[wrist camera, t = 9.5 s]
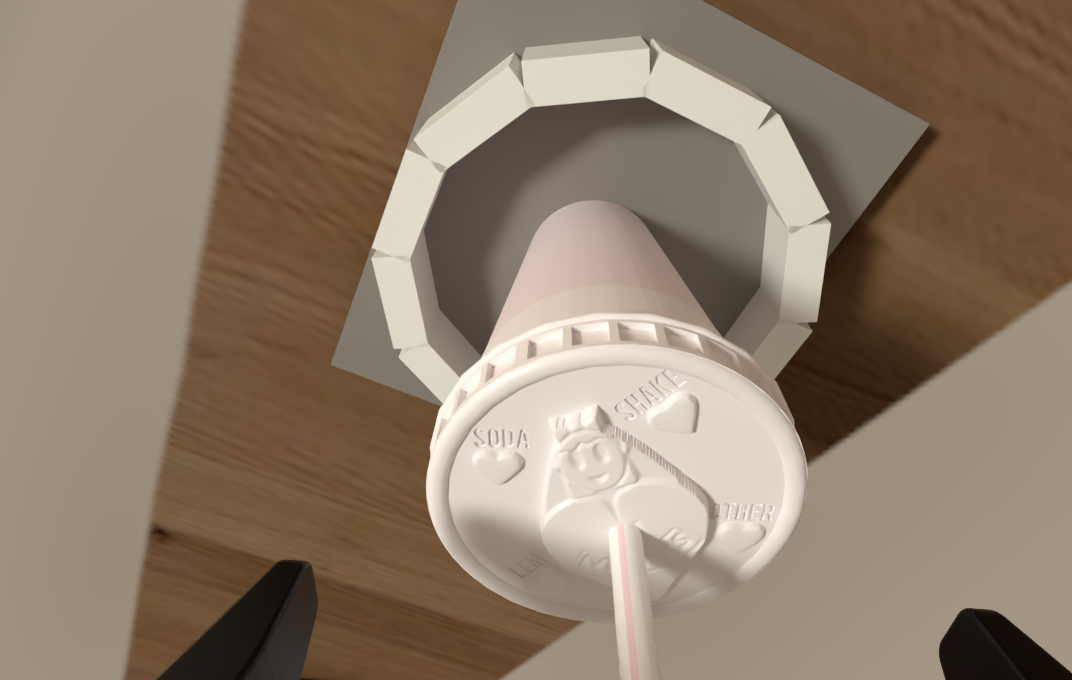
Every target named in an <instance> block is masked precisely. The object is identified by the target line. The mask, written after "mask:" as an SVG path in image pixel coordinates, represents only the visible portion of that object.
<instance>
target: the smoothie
mask: <svg viewBox="0 0 1072 680" xmlns="http://www.w3.org/2000/svg"><path fill="white" fill-rule="evenodd" d="M430 453H431V457H430V462H429V466H428V471H427V481H426V494H427V503H428V508H429V513H430V516H431V519H432V522H433V525H434V527H435V529H436V532H437V534H438V536H439V538H440V539H441V541H442V543H443V544H444V546H445V548H446V549H447V550H448V552H449V553H450V554H451V556H452V557H453V558H454V559H455V560H456V561H457V562H458V564H459V565H460V566H461V567H462V568H463V569H464V570H465V571H467V572H468V573H469V574H470V575H471V576H472V577H473V578H475V579H476V580H477V581H479V582H480V583H481V584H483V585H484V586H485V587H487V588H488V589H490V590H492V591H494V592H495V593H497V594H499V595H501V596H503V597H504V598H506V599H508V600H510V601H512V602H514V603H516V604H519V605H522V606H524V607H527V608H530V609H532V610H535V611H538V612H540V613H544V614H549V615H553V616H557V617H562V618H566V619H571V620H580V621H590V622H601V623H609V622H615V624H616V638H617V651H618V663H619V676H620V680H661V677H660V669H659V661H658V654H657V646H656V639H655V631H654V623H653V619H657V618H663V617H668V616H672V615H675V614H678V613H682V612H686V611H689V610H693V609H696V608H699V607H701V606H703V605H705V604H707V603H710V602H712V601H714V600H716V599H719V598H721V597H724V596H726V595H727V594H729V593H731V592H732V591H734V590H735V589H737V588H738V587H740V586H742V585H743V584H745V583H746V582H748V581H750V580H751V579H752V578H753V577H755V576H756V575H757V574H758V573H759V572H760V571H762V570H763V569H764V568H765V567H766V566H767V565H768V564H769V563H770V562H771V561H772V560H773V559H774V558H775V557H776V556H777V555H778V553H779V552H780V551H781V550H782V549H783V547H784V546H785V544H786V543H787V541H788V540H789V539H790V537H791V536H792V534H793V532H794V530H795V528H796V526H797V524H798V522H799V520H800V517H801V514H802V511H803V509H804V505H805V500H806V496H807V486H808V470H807V463H806V457H805V453H804V450H803V447H802V444H801V441H800V438H799V436H798V434H797V432H796V430H795V425H794V418H793V416H792V414H791V412H790V410H789V408H788V405H787V403H786V401H785V399H784V397H783V395H782V392H781V390H780V388H779V386H778V384H777V382H776V381H775V380H774V379H773V378H772V377H771V376H770V375H769V374H768V373H767V372H766V371H765V370H764V369H763V368H762V367H761V366H760V365H759V364H758V363H757V362H756V360H755V359H754V358H753V357H752V356H751V355H750V354H749V353H748V352H747V351H746V350H744V349H742V348H740V347H739V346H737V345H735V344H733V343H732V342H730V341H728V340H726V339H724V338H723V337H722V336H721V334H720V333H719V332H718V331H717V329H716V328H715V327H714V325H713V324H712V322H711V321H710V319H709V318H708V317H707V315H706V314H705V312H704V311H703V309H702V308H701V306H700V305H699V303H698V302H697V300H696V299H695V297H694V296H693V294H692V293H691V292H690V290H689V289H688V287H687V286H686V284H685V283H684V281H683V280H682V278H681V277H680V275H679V274H678V272H677V271H676V270H675V268H674V267H673V265H672V264H671V262H670V261H669V259H668V258H667V256H666V255H665V253H664V252H663V250H662V249H661V248H660V246H659V245H658V243H657V242H656V240H655V239H654V237H653V236H652V234H651V233H650V231H649V230H648V228H647V227H646V225H645V224H644V223H643V222H642V221H641V219H640V218H638V217H637V216H636V215H635V214H634V213H633V212H631V211H630V210H628V209H626V208H624V207H622V206H620V205H618V204H615V203H611V202H607V201H600V200H588V201H581V202H576V203H573V204H570V205H567V206H565V207H563V208H561V209H559V210H557V211H556V212H554V213H553V214H552V215H550V216H549V217H548V218H547V219H546V220H545V221H544V222H543V223H542V224H541V226H540V227H539V228H538V230H537V231H536V233H535V235H534V237H533V239H532V241H531V244H530V246H529V248H528V251H527V253H526V256H525V258H524V260H523V263H522V265H521V267H520V270H519V272H518V274H517V277H516V279H515V281H514V284H513V286H512V288H511V291H510V293H509V295H508V298H507V300H506V302H505V305H504V307H503V309H502V312H501V314H500V316H499V319H498V321H497V323H496V326H495V328H494V330H493V333H492V335H491V337H490V340H489V342H488V345H487V347H486V349H485V351H484V353H483V355H482V357H481V359H480V360H479V361H478V362H476V363H475V364H474V365H473V366H472V367H470V368H469V369H468V370H467V371H466V372H465V373H463V374H462V375H461V377H460V378H459V380H458V382H457V383H456V385H455V386H454V388H453V389H452V391H451V392H450V394H449V395H448V397H447V399H446V400H445V402H444V403H443V405H442V406H441V408H440V409H439V412H438V417H437V421H436V425H435V429H434V433H433V437H432V441H431V445H430Z"/></svg>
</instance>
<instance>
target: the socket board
mask: <svg viewBox="0 0 1072 680" xmlns="http://www.w3.org/2000/svg"><path fill="white" fill-rule="evenodd" d="M929 125H930V124H929V123H927V122H925V121H923V120H921V119H919V118H918V117H916V116H914V115H912V114H910V113H908V112H907V111H905V110H903V109H901V108H899V107H897V106H896V105H894V104H892V103H890V102H888V101H886V100H884V99H883V98H881V97H879V96H877V95H875V94H873V93H872V92H870V91H868V90H866V89H864V88H862V87H861V86H859V85H857V84H855V83H853V82H851V81H849V80H848V79H846V78H844V77H842V76H840V75H838V74H837V73H835V72H833V71H831V70H829V69H827V68H826V67H824V66H822V65H820V64H818V63H816V62H814V61H813V60H811V59H809V58H807V57H805V56H803V55H802V54H800V53H798V52H796V51H794V50H792V49H790V48H789V47H787V46H785V45H783V44H781V43H779V42H778V41H776V40H774V39H772V38H770V37H768V36H767V35H765V34H763V33H761V32H759V31H757V30H755V29H754V28H752V27H750V26H748V25H746V24H744V23H743V22H741V21H739V20H737V19H735V18H733V17H732V16H730V15H728V14H726V13H724V12H722V11H720V10H719V9H717V8H715V7H713V6H711V5H709V4H708V3H706V2H704V1H702V0H458V2H457V4H456V7H455V10H454V13H453V16H452V19H451V22H450V24H449V27H448V30H447V33H446V36H445V39H444V42H443V45H442V47H441V50H440V53H439V56H438V59H437V62H436V65H435V67H434V70H433V73H432V76H431V79H430V82H429V85H428V87H427V90H426V93H425V96H424V99H423V102H422V105H421V107H420V110H419V113H418V116H417V119H416V122H415V125H414V127H413V130H412V133H411V136H410V139H409V142H408V145H407V147H406V150H405V153H404V156H403V159H402V162H401V165H400V167H399V170H398V173H397V176H396V179H395V182H394V185H393V188H392V190H391V193H390V196H389V199H388V202H387V205H386V208H385V210H384V213H383V216H382V219H381V222H380V225H379V228H378V230H377V233H376V236H375V239H374V242H373V245H372V248H371V250H370V253H369V256H368V259H367V262H366V265H365V268H364V270H363V273H362V276H361V279H360V282H359V285H358V288H357V290H356V293H355V296H354V299H353V302H352V305H351V308H350V310H349V313H348V316H347V319H346V322H345V325H344V328H343V331H342V333H341V336H340V339H339V342H338V345H337V348H336V351H335V353H334V356H333V359H332V362H331V365H332V366H335V367H338V368H340V369H343V370H346V371H348V372H351V373H354V374H356V375H359V376H362V377H364V378H367V379H370V380H372V381H375V382H378V383H380V384H383V385H386V386H388V387H391V388H394V389H396V390H399V391H402V392H405V393H407V394H410V395H413V396H415V397H418V398H421V399H423V400H426V401H429V402H431V403H434V404H437V405H439V406H442V405H443V403H444V402H445V400H446V399H447V397H448V395H449V394H450V392H451V391H452V389H453V388H454V386H455V385H456V383H457V382H458V380H459V378H460V377H461V375H462V374H463V373H465V372H466V371H467V370H468V369H469V368H470V367H472V366H473V365H474V364H475V363H476V362H478V361H479V360H480V359H481V357H482V355H483V353H484V351H485V349H486V347H487V345H488V342H489V340H490V337H491V335H492V333H493V330H494V328H495V326H496V323H497V321H498V319H499V316H500V314H501V312H502V309H503V307H504V305H505V302H506V300H507V298H508V295H509V293H510V291H511V288H512V286H513V284H514V281H515V279H516V277H517V274H518V272H519V270H520V267H521V265H522V263H523V260H524V258H525V256H526V253H527V251H528V248H529V246H530V244H531V241H532V239H533V237H534V235H535V233H536V231H537V230H538V228H539V227H540V226H541V224H542V223H543V222H544V221H545V220H546V219H547V218H548V217H549V216H550V215H552V214H553V213H554V212H556V211H557V210H559V209H561V208H563V207H565V206H567V205H570V204H573V203H576V202H581V201H588V200H600V201H607V202H611V203H615V204H618V205H620V206H622V207H624V208H626V209H628V210H630V211H631V212H633V213H634V214H635V215H636V216H637V217H638V218H640V219H641V221H642V222H643V223H644V224H645V225H646V227H647V228H648V230H649V231H650V233H651V234H652V236H653V237H654V239H655V240H656V242H657V243H658V245H659V246H660V248H661V249H662V250H663V252H664V253H665V255H666V256H667V258H668V259H669V261H670V262H671V264H672V265H673V267H674V268H675V270H676V271H677V272H678V274H679V275H680V277H681V278H682V280H683V281H684V283H685V284H686V286H687V287H688V289H689V290H690V292H691V293H692V294H693V296H694V297H695V299H696V300H697V302H698V303H699V305H700V306H701V308H702V309H703V311H704V312H705V314H706V315H707V317H708V318H709V319H710V321H711V322H712V324H713V325H714V327H715V328H716V329H717V331H718V332H719V333H720V334H721V336H722V337H723V338H724V339H726V340H728V341H730V342H732V343H733V344H735V345H737V346H739V347H740V348H742V349H744V350H746V351H747V352H748V353H749V354H750V355H751V356H752V357H753V358H754V359H755V360H756V362H757V363H758V364H759V365H760V366H761V367H762V368H763V369H764V370H765V371H766V372H767V373H768V374H769V375H770V376H771V377H772V378H773V379H775V378H776V377H777V375H778V374H779V373H780V372H781V370H782V369H783V368H784V367H785V365H786V364H787V363H788V362H789V360H790V359H791V358H792V357H793V355H794V354H795V353H796V352H797V350H798V349H799V348H800V347H801V345H802V344H803V343H804V342H805V340H806V339H807V338H808V337H809V335H810V334H811V333H812V332H813V331H812V329H811V328H810V326H809V325H808V323H807V322H817V318H818V311H819V304H820V298H821V291H822V284H823V277H824V270H825V263H826V260H827V259H828V257H829V256H830V255H831V253H832V252H833V251H834V249H835V248H836V247H837V245H838V244H839V243H840V242H841V240H842V239H843V238H844V236H845V235H846V234H847V232H848V231H849V230H850V228H851V227H852V226H853V224H854V223H855V222H856V220H857V219H858V218H859V217H860V215H861V214H862V213H863V211H864V210H865V209H866V207H867V206H868V205H869V203H870V202H871V201H872V199H873V198H874V197H875V196H876V194H877V193H878V192H879V190H880V189H881V188H882V186H883V185H884V184H885V182H886V181H887V180H888V178H889V177H890V176H891V175H892V173H893V172H894V171H895V169H896V168H897V167H898V165H899V164H900V163H901V161H902V160H903V159H904V157H905V156H906V155H907V154H908V152H909V151H910V150H911V148H912V147H913V146H914V144H915V143H916V142H917V140H918V139H919V138H920V136H921V135H922V134H923V132H924V131H925V130H926V129H927V127H928V126H929Z"/></svg>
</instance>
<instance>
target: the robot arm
mask: <svg viewBox="0 0 1072 680" xmlns="http://www.w3.org/2000/svg"><path fill="white" fill-rule="evenodd" d="M317 607H318V598H317V592H316V586H315V581H314V575H313V569H312V566H311V564H310V563H309V562H307V561H299V560H281V561H279V562H277V563H276V564H275V565H273V566H272V567H271V568H270V569H269V570H268V571H267V572H266V573H265V574H264V575H263V576H262V577H261V578H260V579H259V580H258V581H257V582H256V583H255V584H254V585H253V586H252V587H251V588H250V589H249V590H248V591H246V592H245V593H244V594H243V595H242V596H241V597H240V598H239V599H238V600H237V601H236V602H235V603H234V604H233V605H232V606H231V607H230V608H229V609H228V610H227V611H226V612H225V613H224V614H223V615H222V616H221V617H219V618H218V619H217V620H216V621H215V622H214V623H213V624H212V625H211V626H210V627H209V628H208V629H207V630H206V631H205V632H204V633H203V634H202V635H201V636H200V637H199V638H198V639H197V640H196V641H195V642H194V643H193V644H191V645H190V646H189V647H188V648H187V649H186V650H185V651H184V652H183V653H182V654H181V655H180V656H179V657H178V658H177V659H176V660H175V661H174V662H173V663H172V664H171V665H170V666H169V667H168V668H167V669H166V670H164V671H163V672H162V673H161V674H160V675H159V676H158V677H157V678H156V679H155V680H300V678H301V674H302V670H303V666H304V662H305V658H306V654H307V650H308V646H309V642H310V639H311V635H312V631H313V627H314V623H315V619H316V614H317ZM939 657H940V662H941V666H942V669H943V673H944V676H945V679H946V680H1072V673H1071V672H1070V671H1069V670H1067V669H1066V668H1065V667H1064V666H1063V665H1062V664H1060V663H1059V662H1058V661H1057V660H1055V658H1053V657H1052V656H1051V655H1050V654H1049V653H1047V652H1046V651H1045V650H1044V649H1043V648H1041V647H1040V646H1039V645H1037V643H1035V642H1034V641H1033V640H1032V639H1030V638H1029V637H1028V636H1027V635H1026V634H1025V633H1023V632H1022V631H1021V630H1020V629H1019V628H1017V627H1016V626H1015V625H1014V624H1013V623H1011V622H1010V621H1009V620H1008V619H1007V618H1005V617H1004V616H1003V615H1001V614H1000V613H998V612H996V611H993V610H987V609H973V608H966V609H964V610H962V611H961V612H960V613H959V614H958V615H957V617H956V619H955V620H954V622H953V623H952V625H951V626H950V628H949V629H948V631H947V633H946V634H945V636H944V638H943V639H942V641H941V643H940V647H939Z"/></svg>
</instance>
